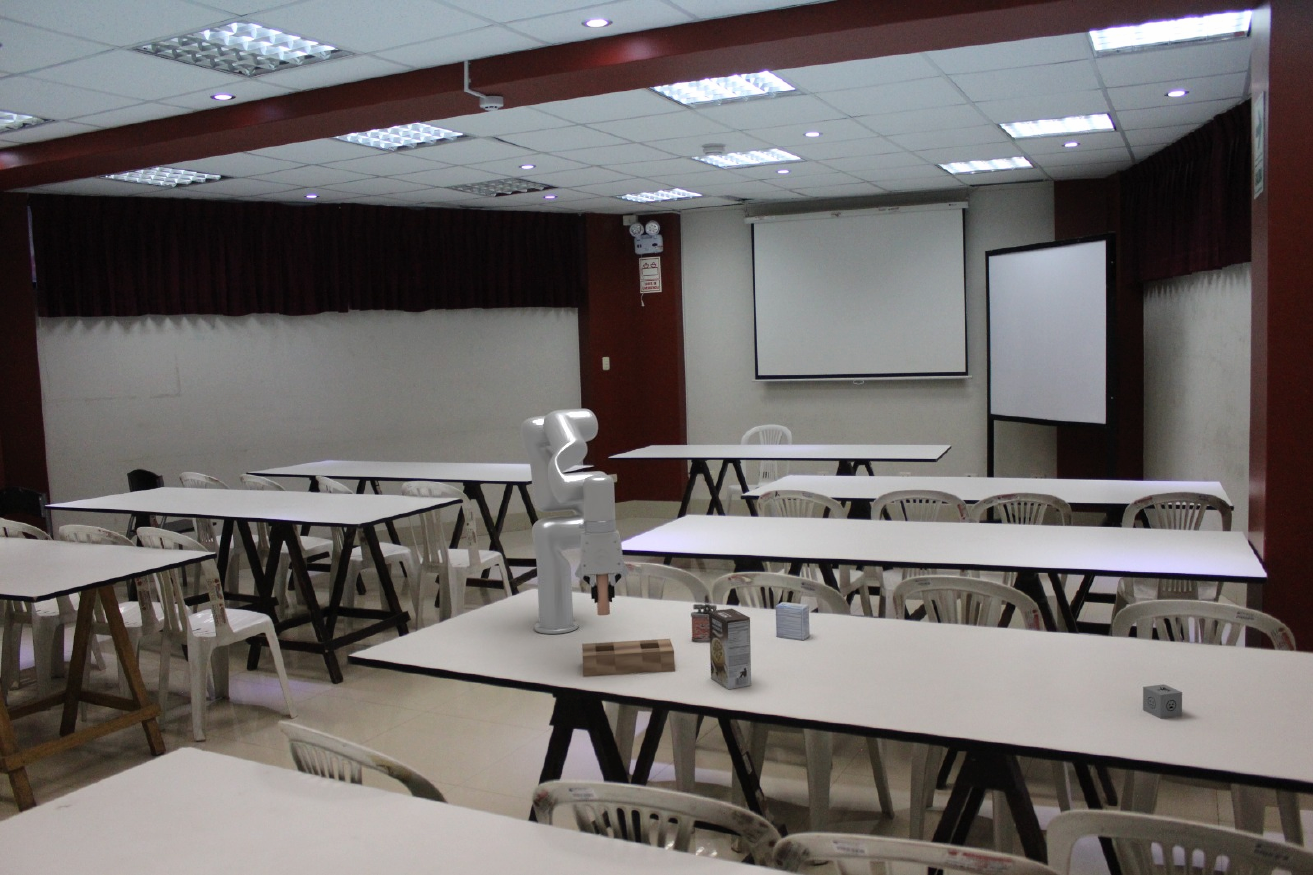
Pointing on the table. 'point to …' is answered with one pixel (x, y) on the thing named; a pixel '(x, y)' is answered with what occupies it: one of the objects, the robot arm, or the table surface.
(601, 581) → the peg
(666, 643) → the hole block
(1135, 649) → the table surface
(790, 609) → the medicine box
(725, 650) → the coffee box
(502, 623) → the table surface
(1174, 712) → the dice cube
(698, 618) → the lighter
